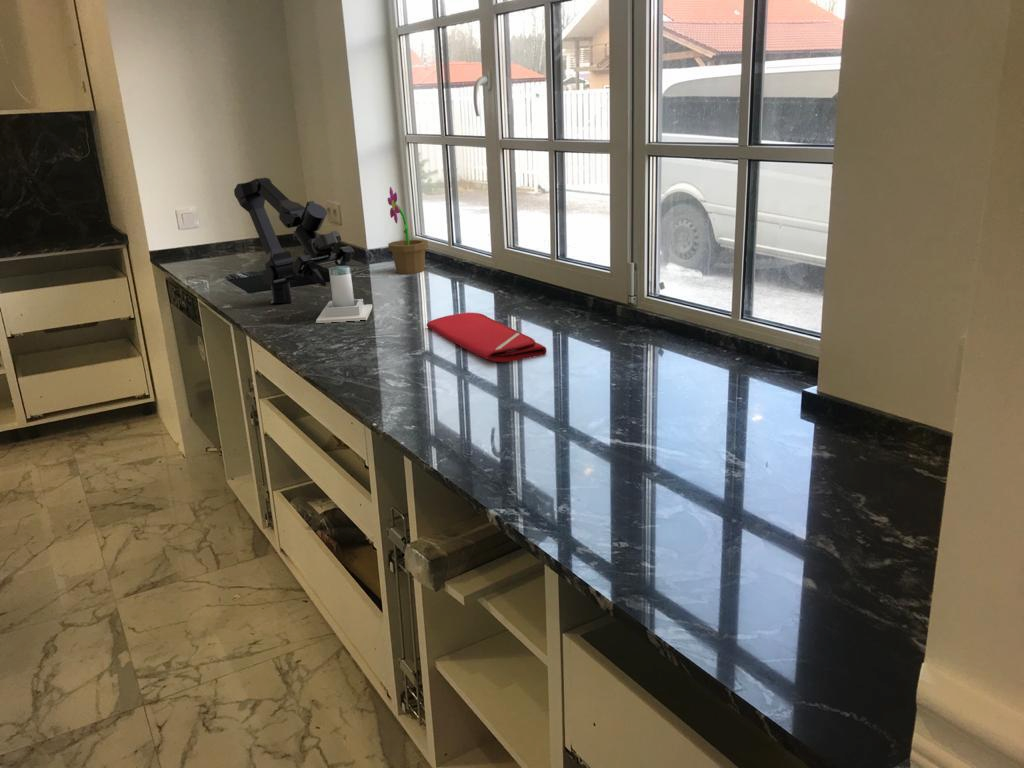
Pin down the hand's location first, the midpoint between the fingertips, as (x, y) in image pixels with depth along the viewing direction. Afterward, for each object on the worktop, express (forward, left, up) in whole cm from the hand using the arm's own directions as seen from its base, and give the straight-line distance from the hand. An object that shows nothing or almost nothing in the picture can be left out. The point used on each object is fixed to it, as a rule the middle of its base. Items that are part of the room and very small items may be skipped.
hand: (338, 282), depth 244 cm
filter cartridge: (+1, +1, -9) cm, 9 cm away
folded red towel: (+37, +40, -10) cm, 56 cm away
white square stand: (+1, +1, -10) cm, 10 cm away
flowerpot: (-61, +16, -10) cm, 64 cm away
